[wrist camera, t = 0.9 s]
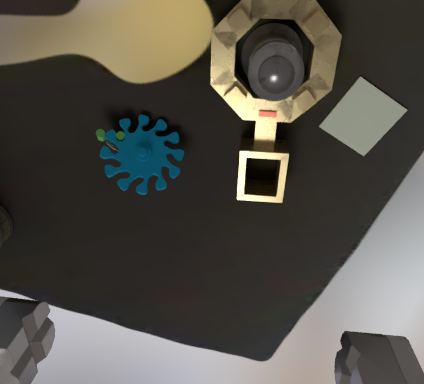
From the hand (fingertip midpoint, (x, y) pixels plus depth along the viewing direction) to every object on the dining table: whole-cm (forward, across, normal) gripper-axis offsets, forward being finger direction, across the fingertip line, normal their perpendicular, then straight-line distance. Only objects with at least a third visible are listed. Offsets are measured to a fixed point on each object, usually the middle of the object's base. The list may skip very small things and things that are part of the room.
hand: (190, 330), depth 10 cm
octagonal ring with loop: (+36, -4, +2) cm, 36 cm away
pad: (+36, -15, +4) cm, 39 cm away
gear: (+37, +12, +9) cm, 39 cm away
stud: (+36, -4, -2) cm, 36 cm away
